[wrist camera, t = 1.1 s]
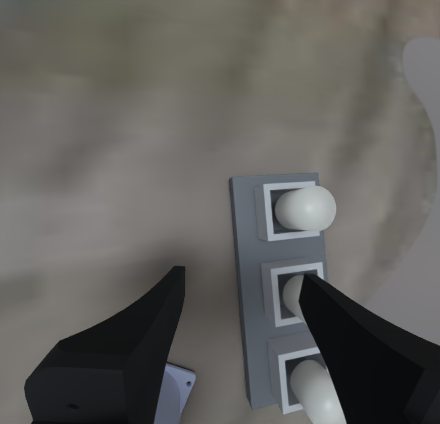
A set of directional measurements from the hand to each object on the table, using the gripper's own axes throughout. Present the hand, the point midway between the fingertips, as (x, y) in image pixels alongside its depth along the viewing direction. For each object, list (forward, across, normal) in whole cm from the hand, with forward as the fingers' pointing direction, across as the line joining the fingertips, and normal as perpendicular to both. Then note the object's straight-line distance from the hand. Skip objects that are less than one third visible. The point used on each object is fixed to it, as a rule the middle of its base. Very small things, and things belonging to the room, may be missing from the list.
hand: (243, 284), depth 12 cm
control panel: (+10, -6, +6) cm, 13 cm away
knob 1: (+8, -5, -2) cm, 10 cm away
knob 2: (+3, -8, +13) cm, 15 cm away
